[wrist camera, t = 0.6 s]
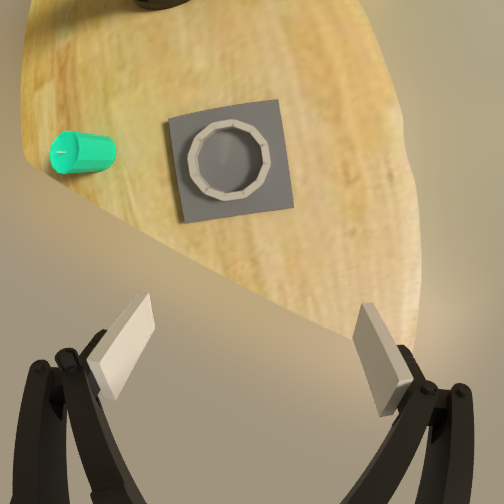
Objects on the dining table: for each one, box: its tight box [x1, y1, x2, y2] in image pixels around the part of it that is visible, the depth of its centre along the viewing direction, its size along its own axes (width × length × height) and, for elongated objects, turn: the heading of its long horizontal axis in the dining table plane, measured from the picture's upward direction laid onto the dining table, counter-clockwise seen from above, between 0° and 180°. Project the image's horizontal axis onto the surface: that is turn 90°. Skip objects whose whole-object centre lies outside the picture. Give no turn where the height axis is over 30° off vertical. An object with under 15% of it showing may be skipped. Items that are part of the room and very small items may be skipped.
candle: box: [50, 131, 116, 174], centre depth 33 cm, size 6×6×12 cm
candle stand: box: [168, 99, 294, 224], centre depth 37 cm, size 16×16×4 cm
